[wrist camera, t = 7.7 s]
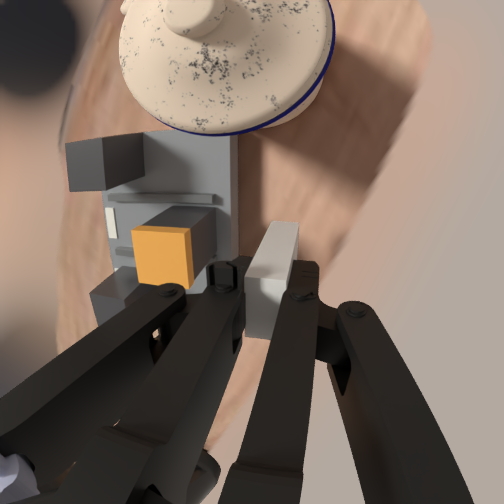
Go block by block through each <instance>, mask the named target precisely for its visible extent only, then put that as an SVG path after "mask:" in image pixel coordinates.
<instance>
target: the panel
mask: <svg viewBox="0 0 504 504" xmlns="http://www.w3.org/2000/svg"><path fill="white" fill-rule="evenodd" d="M65 148H66V161H67V172H68V181H69V190H70V192H81V191H102V198H103V207H104V214H105V222H106V229H107V235H108V241H109V247H110V253H111V259H112V264H113V270H114V273H113V274H111V275H110V276H109V277H108V278H107V279H105V280H104V281H103V282H102V283H101V284H99V285H98V286H97V287H96V288H95V289H93V290H92V291H91V292H90V293H89V294H90V298H91V302H92V306H93V309H94V313H95V316H96V320H97V323H98V326H100V325H102V324H103V323H105V322H106V321H107V320H109V319H110V318H112V317H113V316H114V315H116V314H117V313H119V312H120V311H122V310H123V309H124V308H126V307H127V306H129V305H130V304H132V303H133V302H135V301H136V300H137V299H139V298H140V297H142V296H143V295H145V294H146V293H148V292H149V291H150V290H152V289H153V288H155V287H157V286H159V285H152V284H145V283H139V280H138V275H137V268H136V262H135V256H134V249H133V242H132V234H131V230H132V229H134V228H135V227H137V226H138V225H142V224H144V223H145V222H147V221H148V220H150V219H152V218H153V217H155V216H156V215H158V214H160V213H161V212H163V211H164V210H166V209H168V208H169V207H171V206H173V205H176V206H204V207H216V234H217V252H216V253H215V254H214V255H213V257H212V258H211V259H210V261H209V262H208V263H207V265H208V264H210V263H212V262H215V261H232V260H233V259H235V258H236V257H238V256H239V229H238V135H232V136H221V137H210V136H200V135H194V134H189V133H186V132H182V131H179V130H164V131H152V132H141V133H131V134H123V135H114V136H107V137H100V138H95V139H88V140H82V141H77V142H71V143H66V144H65ZM207 265H206V266H207ZM206 266H205V267H204V268H203V270H202V271H201V272H200V274H199V275H198V276H197V278H196V279H195V280H194V284H193V285H192V286H191V288H190V289H185V291H186V294H198V293H203V291H204V290H205V288H206V287H207V279H206Z"/></svg>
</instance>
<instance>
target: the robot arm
mask: <svg viewBox="0 0 504 504" xmlns="http://www.w3.org/2000/svg"><path fill="white" fill-rule="evenodd" d="M298 238H299V223H298V222H284V221H271V223H270V225H269V227H268V229H267V231H266V233H265V236H264V238H263V240H262V242H261V244H260V246H259V248H258V250H257V252H256V254H255V256H254V257H248V256H238V257H236V258H235V259H233V260H232V261H215V262H212V263H210V264H208V265H207V266H206V279H207V287H206V288H205V290H204V291H203V293H198V294H186V291H185V288H184V287H183V286H182V285H180V284H177V283H165V284H161V285H159V286H157V287H155V288H153V289H152V290H150V291H149V292H148V293H146V294H145V295H143V296H142V297H140V298H139V299H137V300H136V301H135V302H133V303H132V304H130V305H129V306H127V307H126V308H124V309H123V310H122V311H120V312H119V313H117V314H116V315H114V316H113V317H112V318H110V319H109V320H107V321H106V322H105V323H103V324H102V325H100V326H99V327H97V328H96V329H95V330H93V331H92V332H90V333H89V334H88V335H86V336H85V337H83V338H82V339H81V340H79V341H78V342H76V343H75V344H74V345H72V346H71V347H69V348H68V349H67V350H65V351H64V352H62V353H61V354H60V355H58V356H57V357H56V358H54V359H53V360H52V361H50V362H49V363H47V364H46V365H45V366H43V367H42V368H41V369H39V370H38V371H36V372H35V373H34V374H33V375H31V376H30V377H28V378H27V379H26V380H25V381H23V382H22V383H20V384H19V385H18V386H16V387H15V388H14V389H12V390H11V391H10V392H9V393H7V394H6V395H4V396H3V397H2V398H0V504H200V503H201V502H202V501H203V499H204V498H205V497H206V496H207V495H208V494H209V493H210V491H211V490H212V489H213V488H214V487H215V485H216V484H217V481H218V478H219V476H220V472H221V468H220V466H219V464H218V463H217V461H216V460H215V459H214V458H213V457H212V456H211V455H209V454H208V453H207V452H206V451H204V450H203V447H204V444H205V442H206V439H207V436H208V434H209V431H210V429H211V426H212V424H213V421H214V418H215V416H216V413H217V410H218V408H219V405H220V403H221V400H222V397H223V395H224V392H225V389H226V387H227V384H228V381H229V379H230V376H231V373H232V371H233V368H234V365H235V362H236V360H237V357H238V354H239V352H240V349H241V346H242V333H243V330H244V328H245V337H252V338H260V339H268V340H271V342H270V346H269V349H268V353H267V357H266V361H265V364H264V368H263V372H262V375H261V379H260V383H259V386H258V390H257V394H256V397H255V401H254V404H253V408H252V411H251V415H250V418H249V422H248V425H247V429H246V432H245V435H244V439H243V442H242V445H241V449H240V452H239V455H238V458H237V460H236V462H234V463H233V464H232V465H231V467H230V469H229V472H228V475H227V477H226V480H225V483H224V486H223V489H222V492H221V495H220V498H219V501H218V504H299V503H300V497H301V490H302V483H303V464H304V457H305V450H306V442H307V434H308V426H309V417H310V408H311V399H312V389H313V377H314V366H315V359H317V360H320V361H323V362H326V363H327V369H328V372H329V376H330V379H331V382H332V385H333V389H334V392H335V396H336V399H337V402H338V406H339V409H340V413H341V416H342V419H343V423H344V426H345V430H346V433H347V437H348V441H349V444H350V448H351V451H352V455H353V459H354V462H355V466H356V470H357V474H358V477H359V481H360V485H361V489H362V492H363V496H364V500H365V504H474V503H473V499H472V497H471V495H470V492H469V490H468V488H467V485H466V483H465V481H464V478H463V476H462V474H461V472H460V469H459V467H458V465H457V463H456V461H455V459H454V456H453V454H452V452H451V450H450V448H449V446H448V444H447V442H446V440H445V438H444V436H443V434H442V432H441V430H440V428H439V426H438V424H437V422H436V420H435V418H434V416H433V414H432V412H431V410H430V408H429V406H428V404H427V402H426V401H425V399H424V397H423V395H422V393H421V391H420V389H419V387H418V385H417V384H416V382H415V380H414V378H413V376H412V374H411V373H410V371H409V369H408V367H407V366H406V364H405V362H404V360H403V359H402V357H401V355H400V353H399V352H398V350H397V348H396V346H395V345H394V343H393V341H392V340H391V338H390V336H389V334H388V333H387V331H386V329H385V328H384V326H383V324H382V323H381V321H380V319H379V318H378V316H377V315H376V313H375V311H374V310H373V309H372V308H371V307H370V306H369V305H367V304H365V303H363V302H360V301H347V302H344V303H342V304H340V305H339V307H338V309H336V308H333V307H330V306H328V305H326V304H324V303H323V302H322V301H321V300H320V299H319V296H318V288H319V266H318V265H317V263H316V262H315V261H303V260H297V254H298ZM157 329H158V333H159V335H158V336H157V337H156V338H153V334H152V333H153V332H154V331H155V330H157ZM119 420H120V421H119ZM118 421H119V422H118ZM117 422H118V423H117ZM116 423H117V424H116ZM115 424H116V425H115ZM114 425H115V426H114ZM74 463H75V464H74Z"/></svg>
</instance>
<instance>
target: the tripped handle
mask: <svg viewBox="0 0 504 504" xmlns="http://www.w3.org/2000/svg"><path fill="white" fill-rule="evenodd" d="M131 234H132V242H133V249H134V256H135V262H136V268H137V275H138V280H139V283H145V284H152V285H161V284H165V283H177V284H180V285H182V286H183V287H184V288H185V289H190V288H191V286H192V285H193V284H194V280H195V279H196V278H197V276H198V275H199V274H200V272H201V271H202V270H203V268H204V267H205V266H206V265H207V263H208V262H209V261H210V259H211V258H212V257H213V255H214V254H215V253H216V252H217V234H216V207H204V206H176V205H173V206H171V207H169V208H168V209H166V210H164V211H163V212H161V213H160V214H158V215H156V216H155V217H153V218H152V219H150V220H148V221H147V222H145V223H144V224H142V225H138V226H137V227H135V228H134V229H132V230H131Z"/></svg>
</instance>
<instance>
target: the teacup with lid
mask: <svg viewBox="0 0 504 504" xmlns="http://www.w3.org/2000/svg"><path fill="white" fill-rule="evenodd" d="M121 12H122V14H124V15H126V16H125V19H124V22H123V25H122V29H121V34H120V40H119V58H120V64H121V69H122V73H123V76H124V79H125V81H126V84H127V86H128V88H129V90H130V91H131V93H132V94H133V96H134V97H135V99H136V100H137V101H138V102H139V104H140V105H141V106H142V107H143V108H144V109H145V110H146V111H148V112H149V113H150V114H151V115H152V116H153V117H155V118H156V119H157V120H159V121H161V122H162V123H164V124H166V125H168V126H170V127H172V128H174V129H177V130H179V131H182V132H186V133H189V134H194V135H200V136H210V137H221V136H232V135H238V134H243V133H248V132H251V131H254V130H257V129H260V128H268V127H273V126H277V125H280V124H283V123H285V122H287V121H289V120H291V119H293V118H295V117H296V116H298V115H299V114H300V113H302V112H303V111H304V110H305V109H306V108H307V107H308V106H309V105H310V104H311V103H312V101H313V100H314V99H315V97H316V95H317V94H318V92H319V90H320V87H321V85H322V82H323V77H324V74H325V72H326V70H327V68H328V66H329V63H330V60H331V57H332V54H333V50H334V45H335V20H334V14H333V11H332V8H331V4H330V2H329V0H125V1H124V2H123V4H122V6H121Z"/></svg>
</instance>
